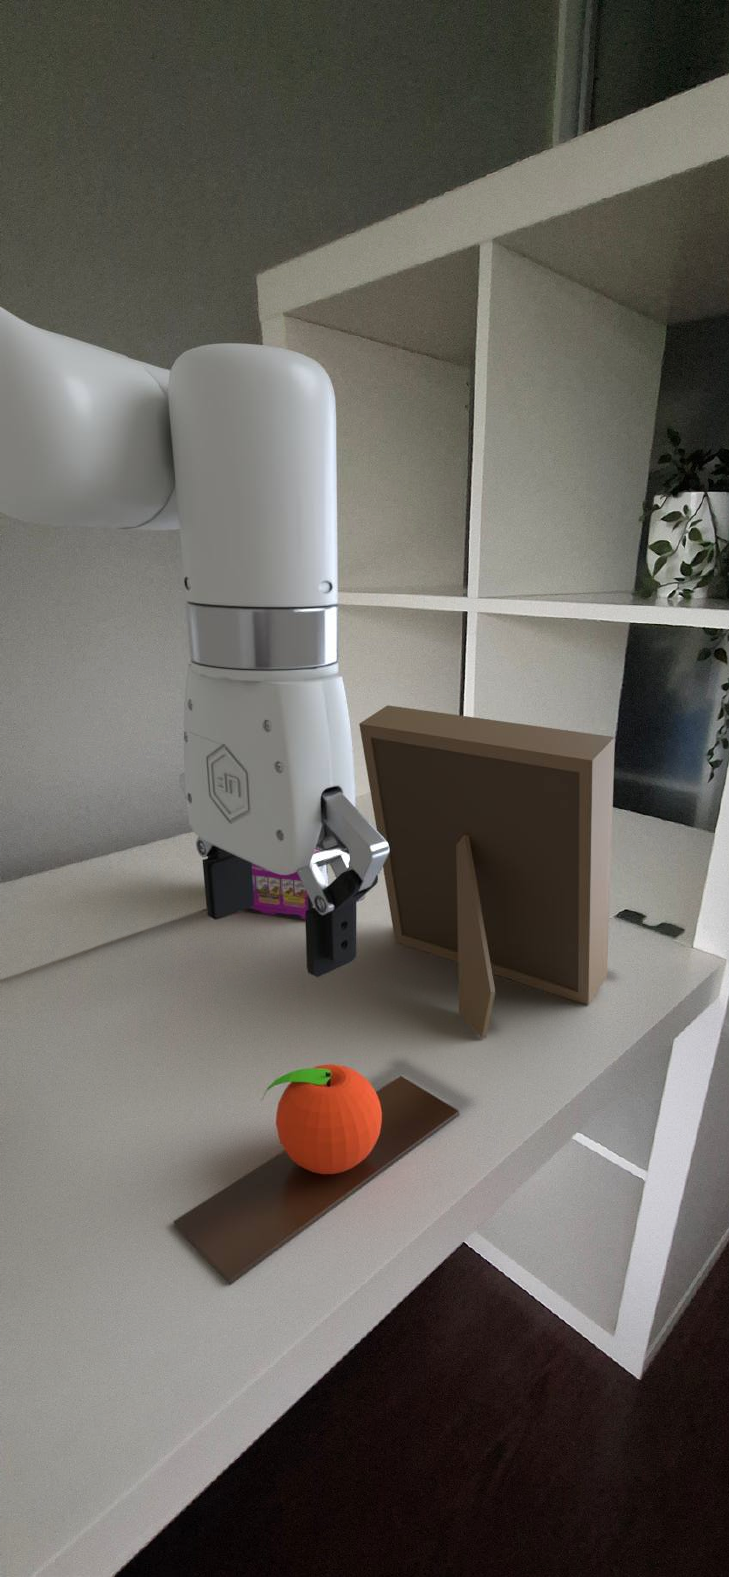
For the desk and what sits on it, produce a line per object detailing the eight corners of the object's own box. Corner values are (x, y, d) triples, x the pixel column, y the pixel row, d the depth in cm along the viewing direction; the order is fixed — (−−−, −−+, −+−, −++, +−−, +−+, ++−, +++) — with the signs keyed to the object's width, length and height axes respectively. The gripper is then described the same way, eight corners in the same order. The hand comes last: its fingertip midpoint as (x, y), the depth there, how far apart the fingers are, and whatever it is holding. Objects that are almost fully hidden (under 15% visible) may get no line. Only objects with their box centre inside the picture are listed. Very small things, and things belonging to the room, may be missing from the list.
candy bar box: (330, 904, 91) (326, 767, 84) (313, 922, 86) (307, 778, 80) (244, 892, 94) (234, 758, 87) (223, 908, 89) (210, 769, 83)
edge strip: (173, 1225, 48) (173, 1221, 47) (401, 1079, 61) (401, 1075, 61) (230, 1284, 44) (230, 1279, 44) (459, 1115, 57) (459, 1110, 57)
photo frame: (417, 927, 86) (421, 696, 75) (605, 985, 74) (639, 725, 64) (331, 983, 74) (322, 721, 64) (537, 1062, 63) (566, 760, 53)
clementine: (250, 1191, 50) (241, 1101, 47) (279, 1119, 56) (273, 1036, 53) (373, 1203, 49) (372, 1113, 46) (389, 1128, 55) (388, 1045, 52)
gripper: (113, 630, 43) (147, 911, 49) (318, 668, 32) (325, 1020, 39) (228, 623, 48) (245, 879, 55) (439, 654, 37) (426, 968, 44)
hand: (278, 938), depth 47 cm, fingers open, 9 cm apart
